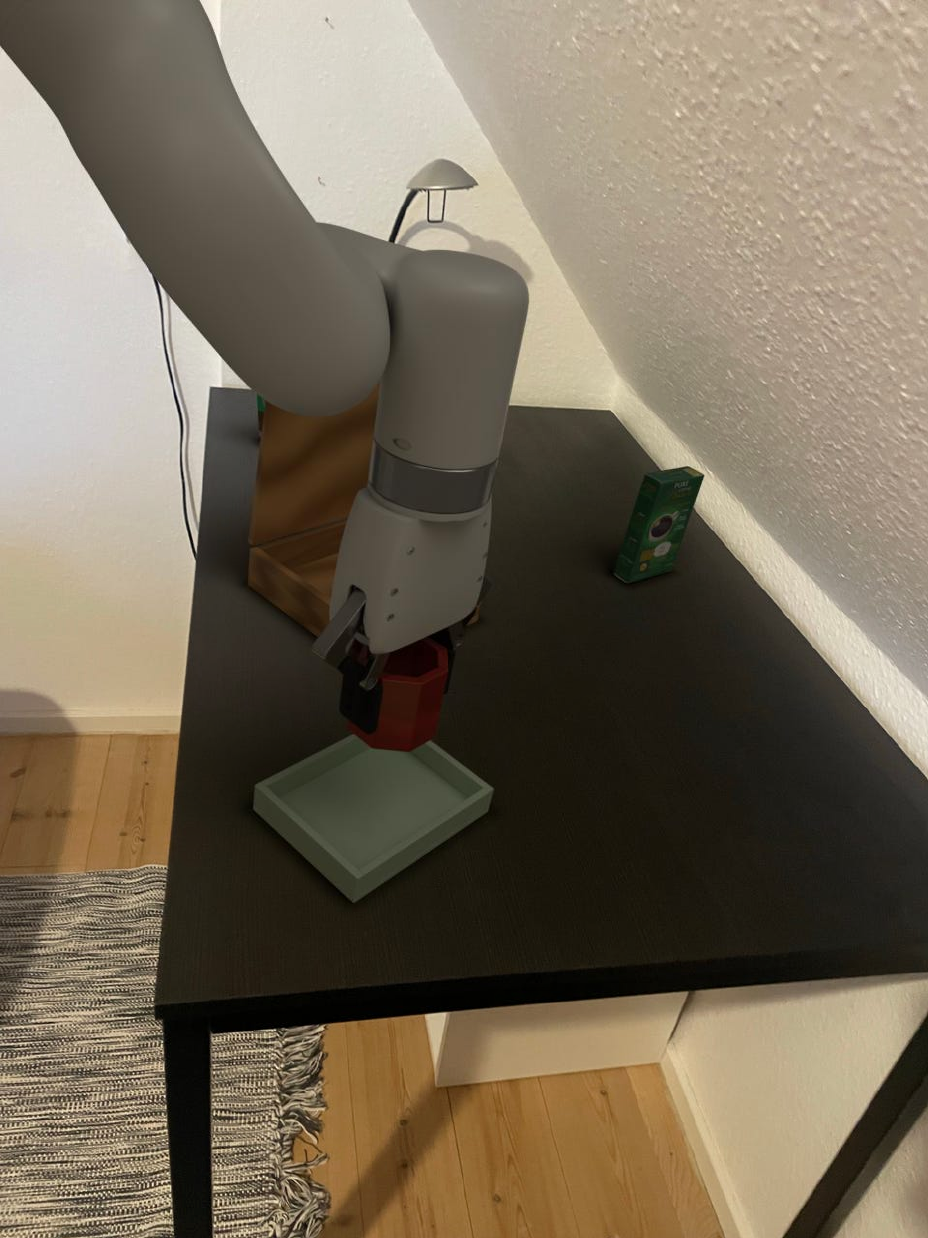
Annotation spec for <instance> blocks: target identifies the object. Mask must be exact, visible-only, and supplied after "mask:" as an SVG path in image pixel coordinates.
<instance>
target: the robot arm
mask: <svg viewBox="0 0 928 1238" xmlns="http://www.w3.org/2000/svg"><path fill="white" fill-rule="evenodd" d="M0 48H1V49H2V51H4V53H5V54H6V55H7V56H8V58H9V59H10V60H11V62H13V64H14V65H15V66H16V67H17V69H18V70H19V71H20V73H21V74H22V75H23V76H24V77H25V78H26V80H27V81H28V82H29V83H30V85H31V86H32V87H33V89H35V91H36V92H37V93H38V94H39V96H40V97H41V99H42V100H43V101H44V102H45V103H46V105H47V106H48V107H49V109H50V110H51V112H52V113H53V114H54V116H55V117H56V118H57V120H58V122H59V124H60V126H61V128H62V129H63V132H64V134H65V135H66V138H67V141H68V142H69V145H70V146H71V148H72V150H73V152H74V153H75V155H76V157H77V159H78V161H79V162H80V165H82V167H83V168H84V170H85V172H86V173H87V174H88V176H89V178H90V180H91V182H93V184H94V185H95V187H96V189H97V190H98V192H99V194H100V195H101V197H102V199H103V200H104V202H105V204H106V205H107V207H108V208H109V210H110V212H111V213H112V215H113V217H114V218H115V220H116V222H117V224H118V225H119V227H120V229H121V230H122V232H123V234H124V236H126V239H127V240H128V242H129V243H130V245H132V248H133V249H134V250H135V252H136V254H138V256H139V258H140V259H141V261H142V262H143V263H144V265H145V267H146V268H147V269H148V270H149V272H150V273H151V275H152V276H153V277H154V279H155V280H156V281H157V283H158V284H159V286H161V288H162V289H163V290H164V291H165V293H166V294H167V296H169V298H170V299H171V300H172V302H173V303H174V304H175V305H176V306H177V308H178V309H179V310H180V311H181V312H182V314H183V315H184V316H185V317H186V318H187V320H188V321H189V322H190V323H191V324H192V325H193V326H194V328H195V329H196V330H197V331H198V332H199V333H200V334H201V336H202V337H203V338H204V339H205V341H207V343H208V344H209V345H210V346H211V347H212V349H213V350H214V351H215V352H216V353H217V354H218V355H219V356H220V358H221V359H222V360H223V361H224V363H225V364H226V365H227V366H228V367H229V368H230V369H231V371H232V372H233V373H234V374H235V375H236V376H237V377H238V378H239V379H240V380H241V381H242V382H243V383H244V384H245V385H246V386H247V387H248V388H249V389H250V390H252V391H253V392H254V393H255V394H256V395H257V394H258V395H259V396H261V397H262V398H263V399H265V400H266V401H268V402H269V403H270V404H272V405H274V406H276V407H278V408H280V409H282V410H284V411H286V412H290V413H293V414H296V415H300V416H306V417H316V418H318V417H328V416H333V415H337V414H340V413H343V412H346V411H347V410H349V409H351V408H353V407H355V406H357V405H358V404H360V403H361V402H362V401H363V400H364V399H365V398H366V397H368V396H369V395H370V394H371V392H372V391H373V390H374V388H375V387H376V386H377V384H378V383H379V381H380V388H379V396H378V404H377V413H376V421H375V429H374V435H373V442H372V450H371V458H370V467H369V475H368V484H367V487H365V488H363V489H361V490H359V491H358V493H357V495H356V498H355V500H354V503H353V505H352V508H351V511H350V514H349V517H347V518H348V520H347V523H346V527H345V530H344V534H343V538H342V542H341V546H340V550H339V555H338V560H337V565H336V570H335V575H334V581H333V587H332V594H331V601H330V610H329V620H330V623H329V624H328V626H327V627H326V628H325V629H324V631H323V632H322V633H321V635H320V636H319V637H317V639H316V640H315V641H314V642H313V644H312V646H311V652H312V653H313V654H314V655H315V656H316V657H318V658H319V659H321V660H322V661H324V663H326V664H328V666H330V667H331V668H333V669H334V670H336V671H338V672H339V673H340V674H341V675H342V682H341V689H340V690H341V691H340V698H339V707H338V709H339V713H340V715H342V716H343V717H344V718H345V719H347V721H348V720H349V721H351V722H352V723H353V724H354V725H356V726H357V727H358V728H359V729H361V730H362V731H363V732H365V733H366V734H367V735H370V734H372V733H374V732H375V731H376V729H377V726H378V720H379V713H380V707H381V700H382V694H383V687H382V686H381V685H380V684H379V683H378V680H379V677H380V675H381V673H382V671H383V669H384V666H385V664H386V662H387V660H388V658H389V656H390V653H391V652H392V651H395V650H397V649H400V648H402V647H405V646H407V645H409V644H411V643H414V642H416V641H418V640H420V639H422V638H425V637H427V636H429V637H430V638H432V639H433V640H435V641H436V642H438V643H439V644H441V645H442V646H444V647H445V648H446V649H447V657H448V674H447V679H446V684H445V689H444V694H443V696H445V695H447V694H448V692H449V690H450V689H449V688H450V683H451V678H452V674H453V668H454V663H455V658H456V653H457V651H456V650H455V649H457V648H459V647H460V646H461V645H462V644H463V642H464V640H465V632H464V631H465V628H466V627H468V626H467V624H468V623H469V622H470V620H471V619H472V617H474V614H475V613H476V605H477V606H478V605H479V603H480V602H481V603H482V601H483V600H484V598H485V596H486V595H487V594H488V593H489V592H490V589H491V588H492V585H493V583H492V580H491V579H490V577H488V575H486V573H485V571H486V566H487V559H488V552H489V546H490V537H491V525H492V510H493V509H492V505H493V504H492V503H493V502H492V500H493V499H492V496H493V495H492V494H493V493H492V491H493V486H494V481H495V476H496V471H497V466H498V461H499V455H500V452H501V446H502V443H503V438H504V431H505V427H506V423H507V422H506V421H507V416H508V411H509V406H510V400H511V396H512V392H513V388H514V387H513V386H514V382H515V376H516V373H517V367H518V362H519V357H520V352H521V348H522V343H523V338H524V333H525V328H526V323H527V318H528V313H529V305H530V293H529V287H528V284H527V282H526V280H525V278H524V277H523V276H522V275H521V273H519V272H518V271H517V270H516V269H515V268H512V267H511V266H510V265H507V263H504V262H502V261H499V260H497V259H495V258H491V257H489V256H488V257H487V256H484V255H480V254H476V253H471V252H465V251H461V250H450V249H425V250H421V249H417V248H413V247H410V246H406V245H403V244H399V243H395V242H392V241H388V240H384V239H382V238H378V237H375V236H372V235H369V234H366V233H364V232H360V231H357V230H354V229H350V228H347V227H344V226H342V225H337V224H332V223H329V222H328V223H327V222H321V221H317V220H315V217H314V216H313V215H312V214H311V212H310V211H309V209H308V208H307V207H306V205H305V204H304V203H303V201H302V199H301V198H300V197H299V195H298V194H297V192H296V191H295V189H294V188H293V186H292V185H291V183H290V182H289V181H288V179H287V177H286V176H285V175H284V173H283V171H282V169H280V167H279V165H278V164H277V162H276V161H275V159H274V157H273V156H272V154H271V153H270V151H269V148H267V145H266V144H265V143H264V141H263V140H262V139H263V138H261V136H260V134H259V132H258V131H257V129H256V127H255V125H254V124H253V122H252V120H251V117H250V116H249V114H248V113H247V111H246V109H245V107H244V105H243V103H242V101H241V99H240V97H239V95H238V92H237V90H236V88H235V86H234V83H233V81H232V78H231V76H230V73H229V70H228V68H227V65H226V62H225V60H224V59H225V58H224V56H223V52H222V50H221V47H220V44H219V41H218V38H217V34H216V32H215V29H214V27H213V25H212V23H211V20H210V18H209V16H208V14H207V12H206V10H205V7H204V6H203V4H202V1H201V0H0ZM380 379H381V380H380ZM363 645H364V646H366V647H367V648H369V650H370V652H371V653H372V654H371V656H370V658H369V660H368V662H367V665H366V667H365V666H363V665H362V664H361V663H359V662H358V661H357V659H358V656H359V654H360V652H361V650H362V648H363Z"/></svg>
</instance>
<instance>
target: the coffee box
mask: <svg viewBox="0 0 928 1238" xmlns="http://www.w3.org/2000/svg"><path fill="white" fill-rule="evenodd" d="M704 479H705V474H704V473H702V472H700V471H699V470H697V469H695V468H693V467H691V466H689V465H686V466H680V467H675V468H668V469H662V470H657V471H651V472H644V473H643V477H642V480H641V484H640V488H639V490H638V494H637V496H636V500H635V503H634V506H633V509H632V512H631V515H630V518H629V522H628V525H627V527H626V532H625V533H624V534H625V535H624V538H623V541H622V544H621V547H620V550H619V554H618V556H617V560H616V563H615V566H614V568H613V573H612V574H613V575H614V576H615V577H617V578H618V579H619V580H621V581H622V582H624V583H625V584H632V583H638V582H641V581H642V580H645V579H649V578H652V577H656V576H661V575H664V574H668V573H671V572H672V570H673V567H674V565H675V562H676V559H677V556H678V554H679V550H680V548H681V545H682V541H683V538H684V536H685V533H686V530H687V528H688V525H689V522H690V519H691V515H692V514H693V513H692V512H693V510H694V507H695V504H696V502H697V498H698V496H699V492H700V490H701V487H702V485H703V481H704Z"/></svg>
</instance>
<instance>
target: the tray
mask: <svg viewBox="0 0 928 1238" xmlns="http://www.w3.org/2000/svg"><path fill="white" fill-rule="evenodd" d="M494 790H495V789H494V787H492V786H491V785H490V784H488V783H487V782H485V780H483V779H482V778H481V777H479V776H478V775H476V774H475V773H474V772H473V771H472V770H470V769H469V768H467V767H466V766H465V765H463V764H462V763H461V762H460V761H458V760H457V759H456V758H455V757H453V756H452V755H450V754H449V753H448V752H447V751H445V750H444V749H443V748H441V747H440V746H438V745H437V744H436V743H435V742H433V741H432V740H430V741H428V742H426V743H425V744H423V745H421V746H419V747H418V748H416V749H414V750H412V751H411V752H401V751H391V750H381V749H373V748H371V747H369V746H368V745H367V744H366V743H364V742H363V741H362V740H361V739H359V738H358V737H357V736H356V735H354V734H353V733H352V734H350V735H348V736H347V737H345V738H343V739H340V740H338V741H337V742H334V743H333V744H331V745H329V746H327V747H325V748H324V749H321V750H319V751H317V752H316V753H313V754H312V755H310V756H307V757H306V758H304V759H302V760H300V761H298V762H296V763H294V764H292V765H290V766H289V767H287V768H285V769H283V770H281V771H279V772H277V773H275V774H273V775H271V776H270V777H268V778H265V779H264V780H261V781H259V782H258V783H256V784H254V791H253V793H254V794H253V805H252V806H253V807H252V810H253V811H254V812H255V813H256V814H258V816H260V818H262V820H264V821H265V822H266V823H267V824H268V825H269V826H270V827H271V828H273V829H274V830H275V832H277V833H278V834H279V835H280V837H282V838H283V839H284V840H285V841H286V842H287V843H288V844H289V845H291V846H292V848H294V850H296V851H297V852H298V853H299V854H300V855H301V856H302V857H303V858H305V859H306V861H308V862H309V864H311V865H312V866H313V867H314V868H315V869H316V870H317V871H318V872H319V873H320V874H321V875H323V876H324V877H325V878H326V879H327V880H328V881H329V882H330V883H331V884H332V885H334V887H335V888H336V889H338V891H339V892H341V894H343V895H344V896H345V897H346V898H347V899H348V900H349V901H350V902H351V903H352V904H355V903H357V902H358V901H359V900H361V899H362V898H364V897H365V896H367V895H368V894H370V893H371V892H372V891H374V890H376V889H377V888H378V887H380V886H381V885H383V884H384V883H386V882H387V881H388V880H390V879H392V878H393V877H394V876H396V875H398V874H399V873H400V872H401V871H403V870H405V869H406V868H407V867H409V866H411V865H412V864H414V863H415V862H416V861H418V860H419V859H421V858H422V857H424V856H426V854H428V853H430V852H431V851H432V850H434V849H436V848H437V847H439V846H440V845H441V844H443V843H445V842H446V841H447V840H449V839H450V838H452V837H453V836H454V835H456V834H457V833H459V832H460V831H462V830H464V829H465V828H466V827H468V826H469V825H471V824H472V823H473V822H475V821H476V820H479V818H482V816H484V815H485V814H487V813H488V812H489V809H490V805H491V802H492V797H493V794H494Z"/></svg>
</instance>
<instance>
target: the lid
mask: <svg viewBox="0 0 928 1238" xmlns="http://www.w3.org/2000/svg"><path fill="white" fill-rule="evenodd" d="M380 380H381V379H380ZM379 388H380V381H379V383H378V384H377V386H376V387H375V388H374V390H373V391H372V392H371V394H370V395H369V396H368V397H366V398H365V399H364V400H363V401H362V402H361V403H360V404H358V405H357V406H355V407H353V408H351V409H349V410H347V411H346V412H343V413H340V414H337V415H333V416H328V417H318V418H316V417H306V416H300V415H296V414H293V413H290V412H286V411H284V410H282V409H280V408H278V407H276V406H274V405H272V404H270V403H269V402H268V401H266V402H265V410H264V418H263V426H262V434H261V442H259V450H258V458H257V466H256V473H255V474H256V475H255V483H254V491H253V498H252V507H251V516H250V523H249V531H248V538H247V542H248V543H249V544H250V545H251V546H252V547H255V546H258V545H262V544H265V543H268V542H271V541H275V540H278V539H281V538H285V537H288V536H291V535H294V534H298V533H301V532H304V531H307V530H311V529H314V528H317V527H320V526H324V525H327V524H330V523H333V522H337V521H340V520H343V519H346V518H348V517H349V514H350V511H351V508H352V505H353V503H354V500H355V498H356V495H357V493H358V491H359V490H361V489H363V488H365V487H367V484H368V475H369V467H370V458H371V450H372V442H373V435H374V429H375V421H376V413H377V404H378V396H379Z"/></svg>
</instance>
